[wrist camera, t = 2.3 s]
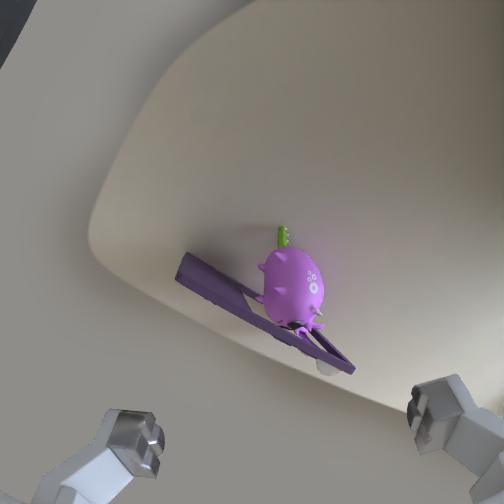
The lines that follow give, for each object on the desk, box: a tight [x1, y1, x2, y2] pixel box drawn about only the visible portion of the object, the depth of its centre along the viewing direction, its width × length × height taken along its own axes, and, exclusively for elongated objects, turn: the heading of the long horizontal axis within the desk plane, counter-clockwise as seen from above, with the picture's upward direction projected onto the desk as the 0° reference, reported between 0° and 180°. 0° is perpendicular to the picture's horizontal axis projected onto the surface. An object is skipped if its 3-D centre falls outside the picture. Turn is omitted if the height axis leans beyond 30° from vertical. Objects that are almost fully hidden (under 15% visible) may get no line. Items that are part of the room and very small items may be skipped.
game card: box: [175, 226, 356, 376], centre depth 16 cm, size 7×5×9 cm
